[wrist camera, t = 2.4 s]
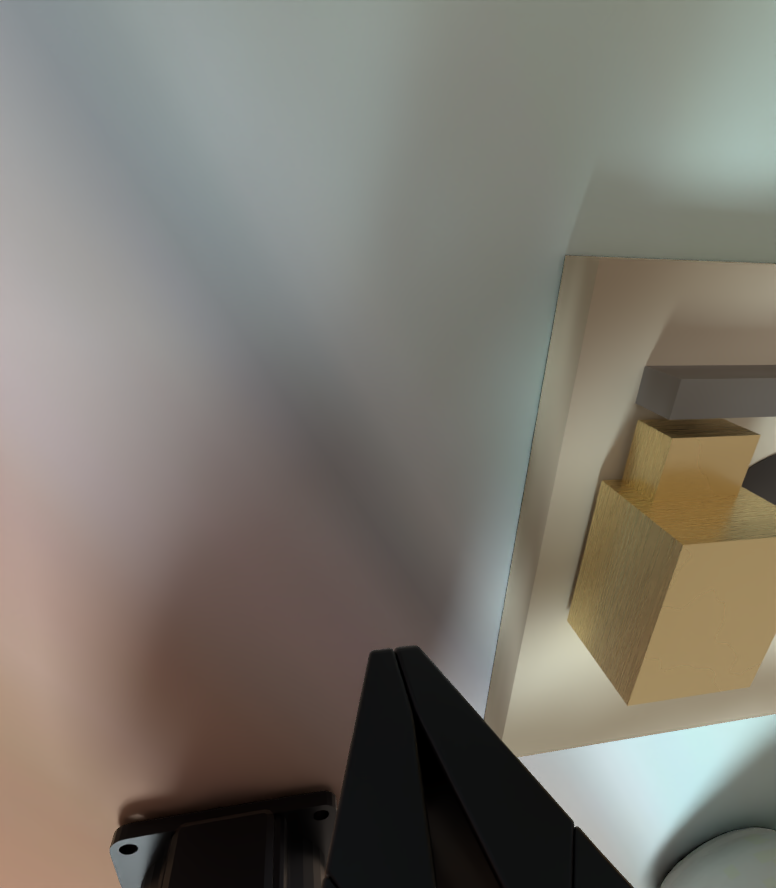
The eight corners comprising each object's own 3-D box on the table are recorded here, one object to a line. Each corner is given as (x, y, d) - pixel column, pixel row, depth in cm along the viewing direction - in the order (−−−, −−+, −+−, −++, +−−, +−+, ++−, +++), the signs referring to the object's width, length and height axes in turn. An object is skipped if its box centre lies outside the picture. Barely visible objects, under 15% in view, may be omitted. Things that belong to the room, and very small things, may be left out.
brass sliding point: (670, 609, 12) (749, 687, 10) (567, 620, 12) (627, 706, 10) (739, 417, 10) (857, 464, 8) (616, 420, 10) (708, 473, 8)
